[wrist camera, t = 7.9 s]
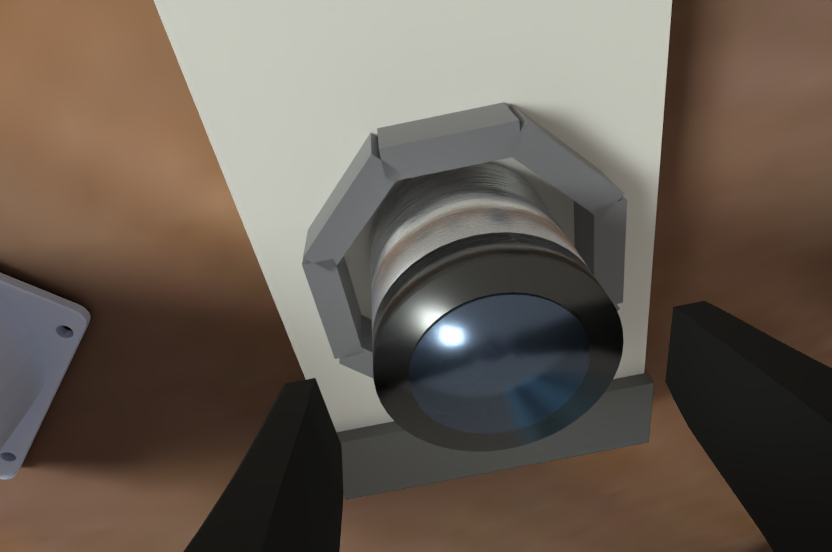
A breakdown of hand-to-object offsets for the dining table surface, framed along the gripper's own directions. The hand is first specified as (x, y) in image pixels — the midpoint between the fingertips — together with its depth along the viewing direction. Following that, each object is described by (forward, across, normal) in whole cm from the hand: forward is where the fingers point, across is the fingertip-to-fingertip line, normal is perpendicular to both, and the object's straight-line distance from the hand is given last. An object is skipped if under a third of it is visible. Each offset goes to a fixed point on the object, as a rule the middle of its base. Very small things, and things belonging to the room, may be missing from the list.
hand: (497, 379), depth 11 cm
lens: (+5, 0, 0) cm, 5 cm away
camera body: (+8, 0, 0) cm, 8 cm away
